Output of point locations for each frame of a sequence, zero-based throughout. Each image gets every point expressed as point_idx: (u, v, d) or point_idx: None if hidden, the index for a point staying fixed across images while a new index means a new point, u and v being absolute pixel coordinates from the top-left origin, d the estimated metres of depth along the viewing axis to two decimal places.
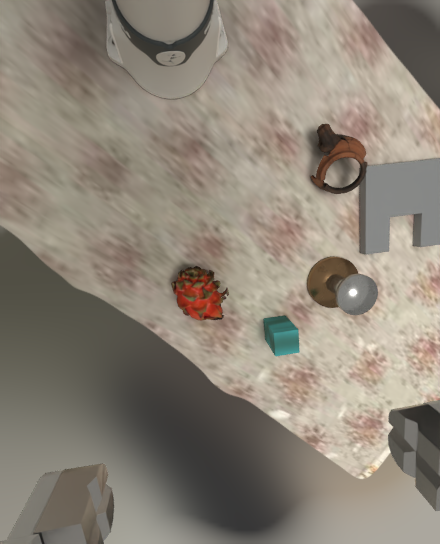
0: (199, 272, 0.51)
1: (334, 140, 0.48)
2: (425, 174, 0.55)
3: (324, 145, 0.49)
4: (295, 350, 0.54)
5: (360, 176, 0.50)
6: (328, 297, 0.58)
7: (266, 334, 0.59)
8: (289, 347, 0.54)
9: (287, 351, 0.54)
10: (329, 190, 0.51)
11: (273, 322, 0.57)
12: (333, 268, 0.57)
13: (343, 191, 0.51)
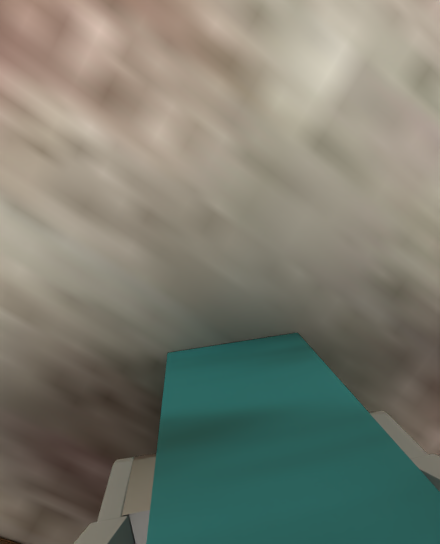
0: None
1: None
2: None
3: None
4: None
5: None
6: None
7: None
8: None
9: None
10: None
11: None
12: None
13: None
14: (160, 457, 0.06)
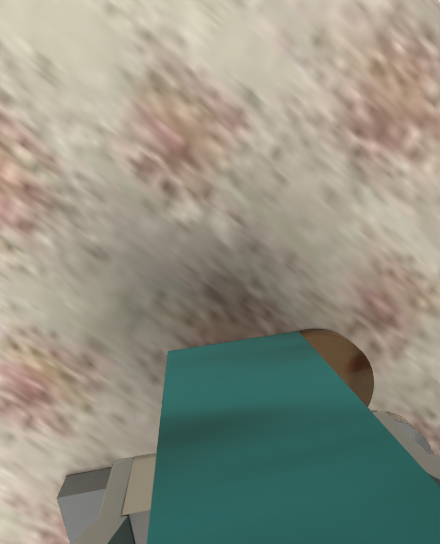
0: None
1: None
2: None
3: None
4: None
5: None
6: (331, 360, 0.24)
7: None
8: None
9: None
10: None
11: None
12: None
13: None
14: (161, 455, 0.06)
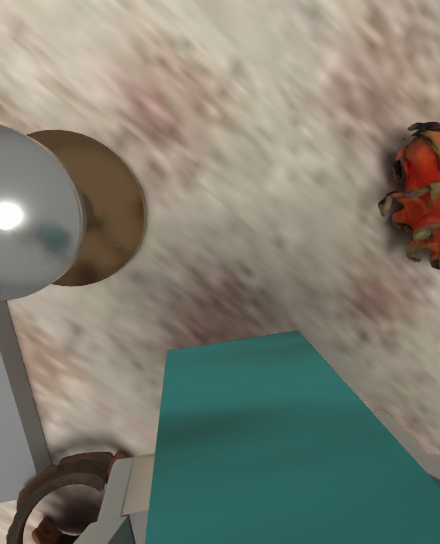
0: None
1: None
2: None
3: None
4: None
5: (18, 540, 0.19)
6: (78, 166, 0.19)
7: None
8: None
9: None
10: (90, 478, 0.21)
11: None
12: (77, 256, 0.20)
13: (52, 483, 0.21)
14: (159, 454, 0.06)
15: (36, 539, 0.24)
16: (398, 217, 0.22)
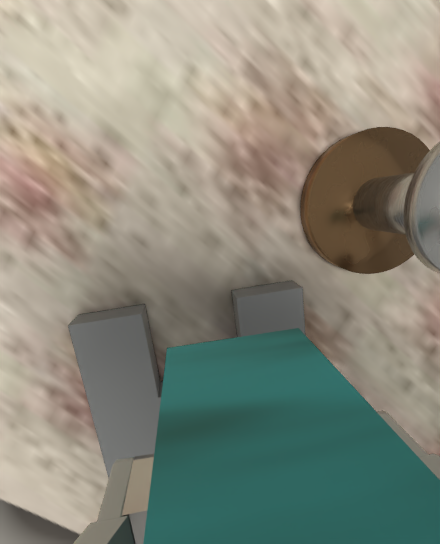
0: None
1: None
2: None
3: None
4: None
5: None
6: (395, 161, 0.20)
7: None
8: None
9: None
10: None
11: None
12: (378, 245, 0.22)
13: None
14: (159, 451, 0.06)
15: None
16: None
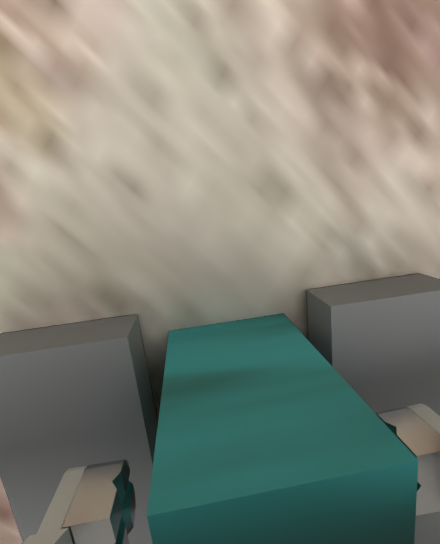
0: None
1: None
2: None
3: None
4: (197, 531, 0.05)
5: None
6: None
7: None
8: None
9: (287, 514, 0.05)
10: None
11: None
12: None
13: None
14: (164, 402, 0.07)
15: None
16: None
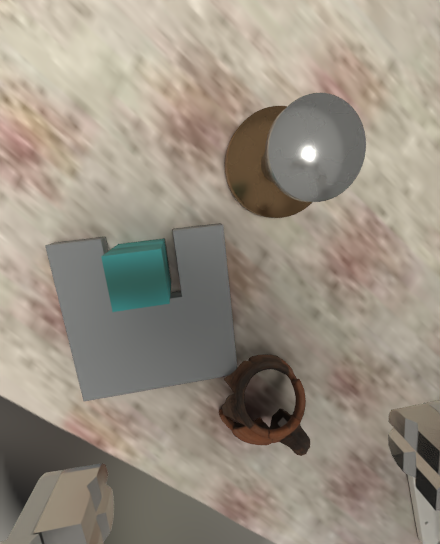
0: None
1: (292, 441, 0.31)
2: (123, 371, 0.30)
3: (301, 428, 0.31)
4: (112, 261, 0.23)
5: None
6: None
7: (166, 258, 0.29)
8: (127, 270, 0.23)
9: (132, 259, 0.23)
10: (280, 365, 0.30)
11: None
12: (282, 196, 0.29)
13: (258, 367, 0.30)
14: (110, 250, 0.25)
15: (225, 418, 0.33)
16: None
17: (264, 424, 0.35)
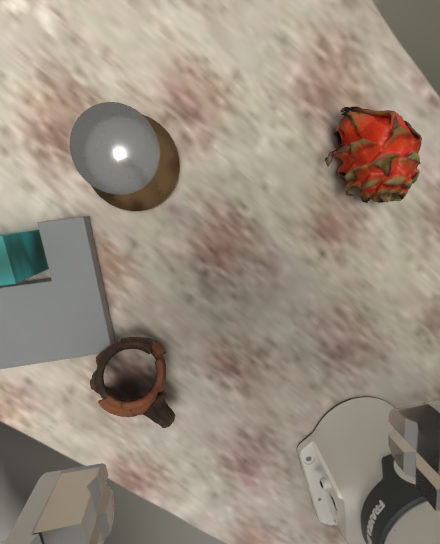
0: (376, 196, 0.33)
1: (153, 413, 0.34)
2: (4, 347, 0.34)
3: (164, 403, 0.35)
4: None
5: (102, 375, 0.32)
6: None
7: (36, 246, 0.33)
8: None
9: None
10: (143, 345, 0.34)
11: None
12: (138, 191, 0.33)
13: (120, 346, 0.34)
14: None
15: None
16: (340, 169, 0.35)
17: None
